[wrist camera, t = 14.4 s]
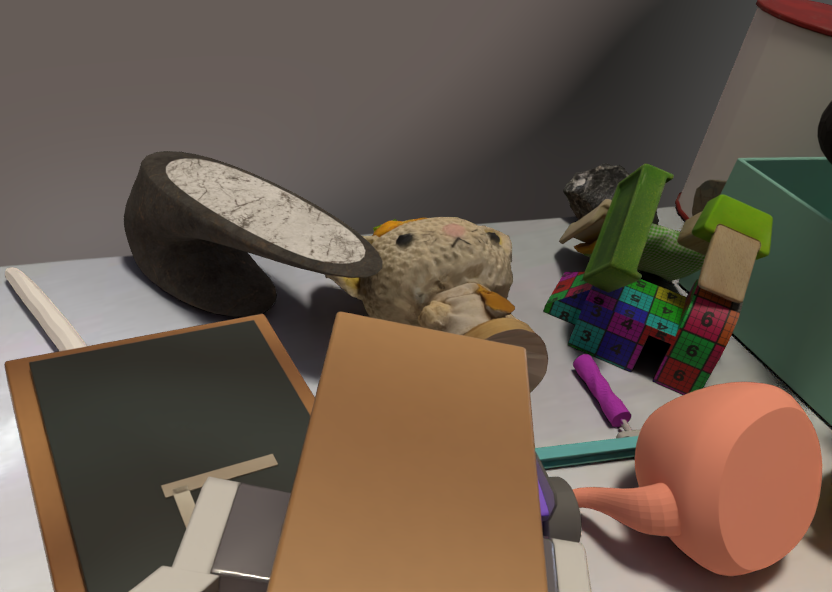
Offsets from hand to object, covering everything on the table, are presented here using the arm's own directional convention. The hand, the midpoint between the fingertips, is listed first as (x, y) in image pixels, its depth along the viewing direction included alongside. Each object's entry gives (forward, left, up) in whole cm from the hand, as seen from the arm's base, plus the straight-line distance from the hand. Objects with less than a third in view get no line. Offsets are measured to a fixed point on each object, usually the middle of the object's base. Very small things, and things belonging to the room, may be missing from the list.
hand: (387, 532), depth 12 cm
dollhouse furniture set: (-11, -60, -20) cm, 64 cm away
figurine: (-2, -33, -23) cm, 40 cm away
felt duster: (0, +1, -5) cm, 5 cm away
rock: (-12, -69, -25) cm, 74 cm away
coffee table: (+20, -38, -29) cm, 52 cm away
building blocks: (-11, -52, -29) cm, 61 cm away
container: (-24, -85, -4) cm, 88 cm away
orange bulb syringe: (-19, -29, -22) cm, 41 cm away
